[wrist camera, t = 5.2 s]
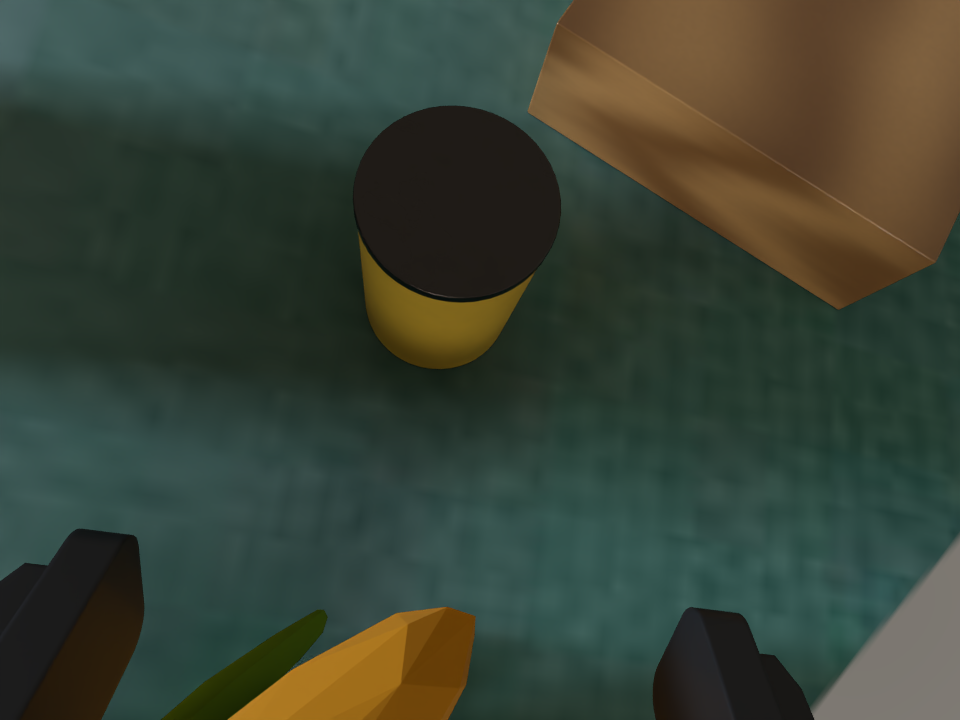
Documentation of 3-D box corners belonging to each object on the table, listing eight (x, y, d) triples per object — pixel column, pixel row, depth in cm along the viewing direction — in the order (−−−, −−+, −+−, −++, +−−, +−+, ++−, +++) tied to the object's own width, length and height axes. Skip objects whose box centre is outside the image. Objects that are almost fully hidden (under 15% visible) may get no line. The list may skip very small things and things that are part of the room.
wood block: (526, 112, 27) (556, 22, 22) (692, -120, 31) (748, -240, 26) (838, 310, 27) (936, 263, 22) (968, 52, 31) (1076, -37, 26)
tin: (332, 300, 25) (307, 196, 17) (433, 205, 26) (452, 67, 18) (441, 401, 24) (465, 341, 17) (537, 299, 26) (602, 199, 18)
